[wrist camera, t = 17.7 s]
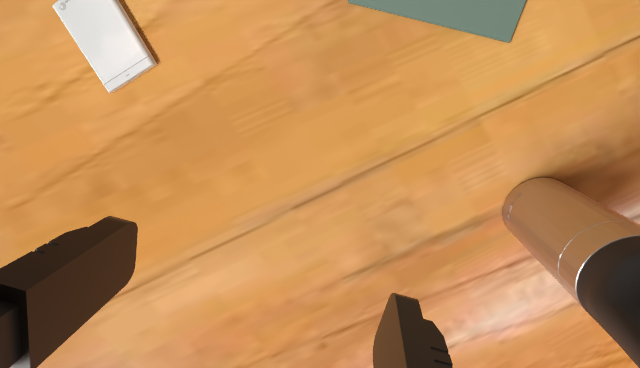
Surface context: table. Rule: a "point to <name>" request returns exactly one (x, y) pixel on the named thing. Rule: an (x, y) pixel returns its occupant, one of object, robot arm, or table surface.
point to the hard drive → (106, 40)
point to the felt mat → (458, 14)
